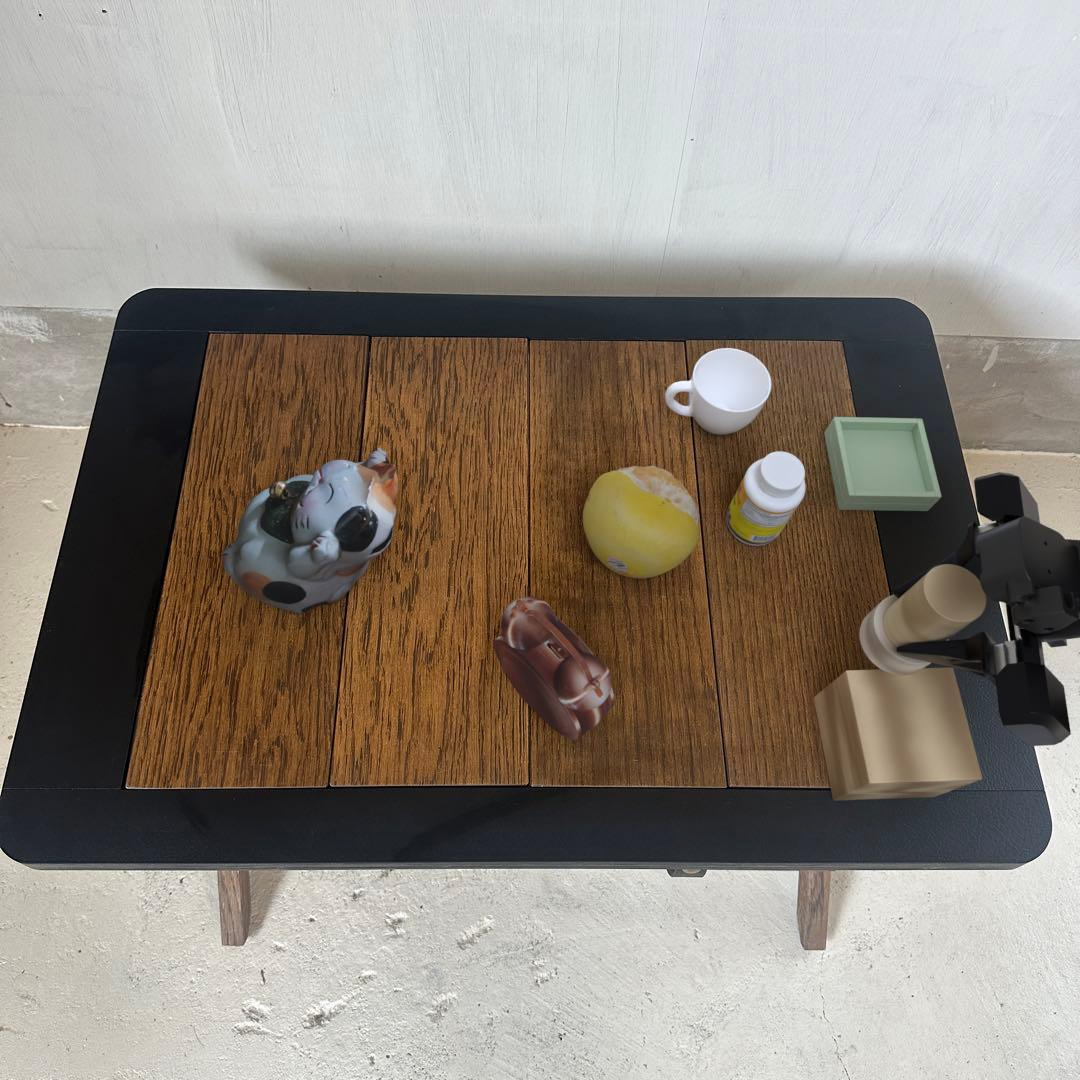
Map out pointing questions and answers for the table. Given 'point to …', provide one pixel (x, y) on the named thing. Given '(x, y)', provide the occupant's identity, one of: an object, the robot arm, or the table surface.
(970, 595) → the tan cylindrical piece
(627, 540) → the fruit
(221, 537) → the table surface
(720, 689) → the table surface
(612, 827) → the table surface
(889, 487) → the mint green tray
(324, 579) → the lucky cat figurine
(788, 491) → the supplement bottle
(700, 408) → the cup
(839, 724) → the stand
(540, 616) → the alarm clock
